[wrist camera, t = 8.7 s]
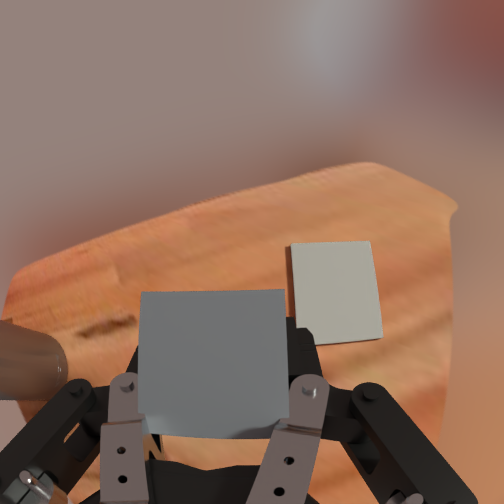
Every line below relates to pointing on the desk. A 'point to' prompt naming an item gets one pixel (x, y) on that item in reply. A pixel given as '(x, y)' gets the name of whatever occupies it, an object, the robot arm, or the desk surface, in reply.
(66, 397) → the robot arm
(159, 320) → the cap block
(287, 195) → the desk surface
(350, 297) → the rubber mat
